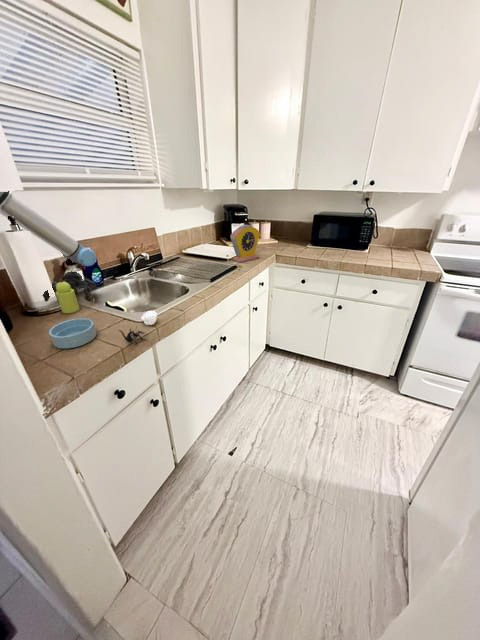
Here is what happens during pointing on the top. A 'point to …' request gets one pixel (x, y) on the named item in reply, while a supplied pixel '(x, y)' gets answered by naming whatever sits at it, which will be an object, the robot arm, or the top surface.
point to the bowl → (72, 333)
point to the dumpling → (149, 317)
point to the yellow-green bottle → (66, 297)
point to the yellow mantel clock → (245, 243)
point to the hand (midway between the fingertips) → (65, 295)
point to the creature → (131, 335)
